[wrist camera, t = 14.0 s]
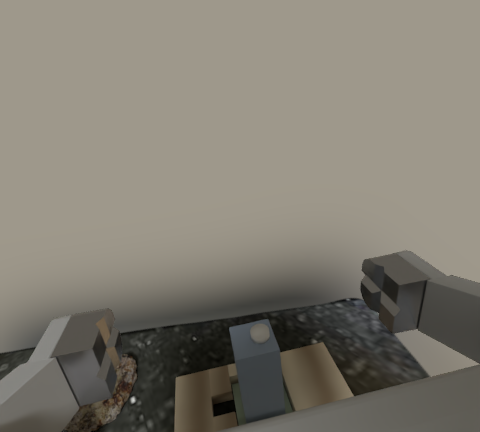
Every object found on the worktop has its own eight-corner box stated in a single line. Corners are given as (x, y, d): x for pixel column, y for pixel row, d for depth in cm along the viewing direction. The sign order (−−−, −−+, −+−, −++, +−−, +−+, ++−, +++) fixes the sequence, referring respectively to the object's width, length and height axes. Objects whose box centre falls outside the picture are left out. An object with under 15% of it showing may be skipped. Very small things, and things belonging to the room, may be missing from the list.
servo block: (246, 425, 33) (234, 354, 28) (239, 388, 37) (227, 322, 32) (285, 415, 33) (279, 343, 29) (274, 380, 37) (267, 313, 33)
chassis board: (176, 475, 29) (173, 466, 29) (178, 385, 38) (175, 377, 38) (363, 423, 32) (364, 414, 31) (323, 350, 41) (323, 342, 40)
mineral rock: (87, 442, 31) (38, 401, 34) (91, 461, 33) (44, 421, 36) (156, 363, 40) (112, 336, 43) (155, 382, 42) (114, 355, 45)
